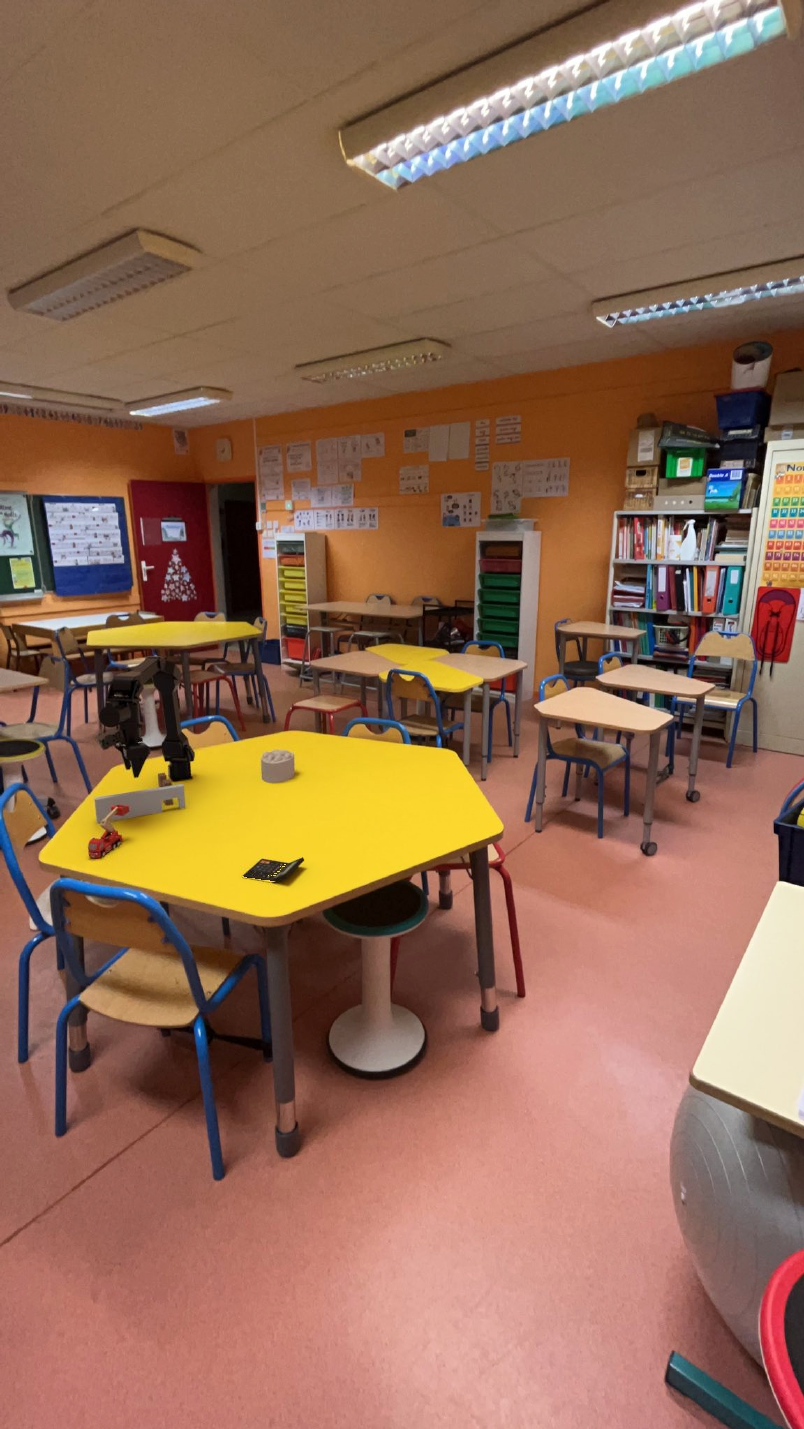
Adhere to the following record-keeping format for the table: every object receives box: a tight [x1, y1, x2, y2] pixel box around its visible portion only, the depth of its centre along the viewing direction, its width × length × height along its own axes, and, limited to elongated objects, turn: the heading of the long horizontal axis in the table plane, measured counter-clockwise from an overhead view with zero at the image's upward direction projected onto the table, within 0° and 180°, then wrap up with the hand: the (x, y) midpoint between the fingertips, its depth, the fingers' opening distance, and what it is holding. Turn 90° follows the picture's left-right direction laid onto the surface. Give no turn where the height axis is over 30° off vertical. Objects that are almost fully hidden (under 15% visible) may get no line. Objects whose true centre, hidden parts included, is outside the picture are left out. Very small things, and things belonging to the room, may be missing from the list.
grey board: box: [93, 783, 186, 824], centre depth 188 cm, size 24×2×7 cm, turn 121°
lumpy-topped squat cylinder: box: [260, 749, 296, 784], centre depth 222 cm, size 10×13×9 cm
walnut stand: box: [157, 772, 174, 806], centre depth 200 cm, size 10×2×7 cm, turn 31°
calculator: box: [242, 857, 305, 882], centre depth 156 cm, size 9×12×3 cm
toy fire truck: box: [87, 805, 129, 859], centre depth 166 cm, size 3×14×10 cm, turn 168°
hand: (132, 773), depth 185 cm, fingers open, 9 cm apart
